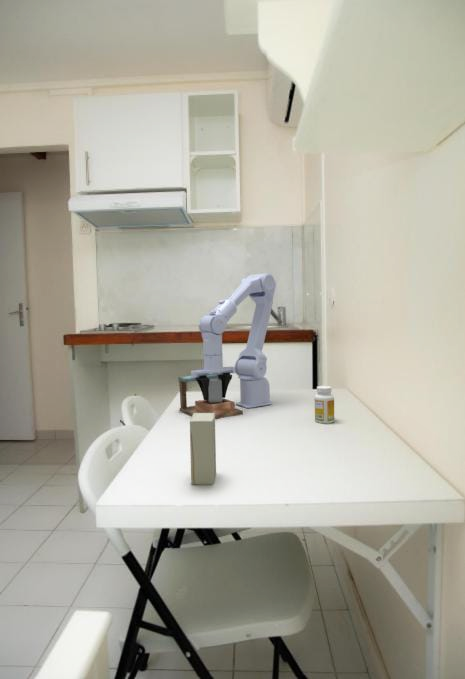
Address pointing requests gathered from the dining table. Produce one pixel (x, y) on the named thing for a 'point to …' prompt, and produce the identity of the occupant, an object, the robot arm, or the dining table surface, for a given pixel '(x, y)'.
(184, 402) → the socket station
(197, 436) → the skincare box
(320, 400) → the supplement bottle
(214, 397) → the steel peg
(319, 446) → the dining table surface
